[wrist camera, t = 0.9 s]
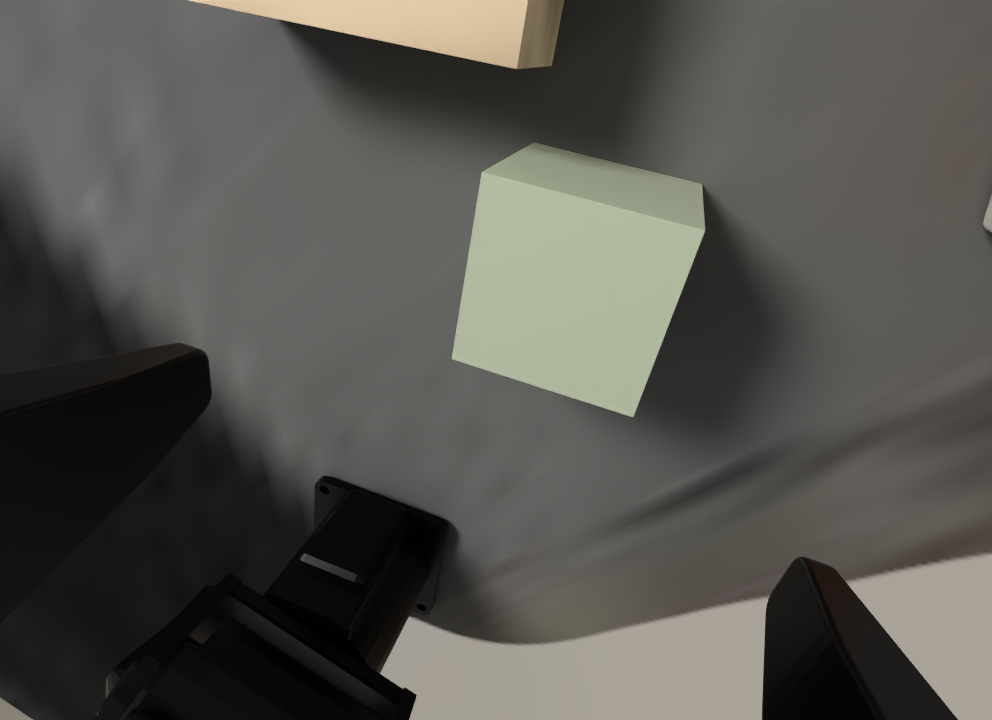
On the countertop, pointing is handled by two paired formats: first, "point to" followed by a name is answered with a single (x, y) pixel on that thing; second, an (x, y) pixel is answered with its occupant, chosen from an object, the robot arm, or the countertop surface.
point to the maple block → (432, 24)
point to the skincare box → (988, 217)
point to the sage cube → (576, 273)
